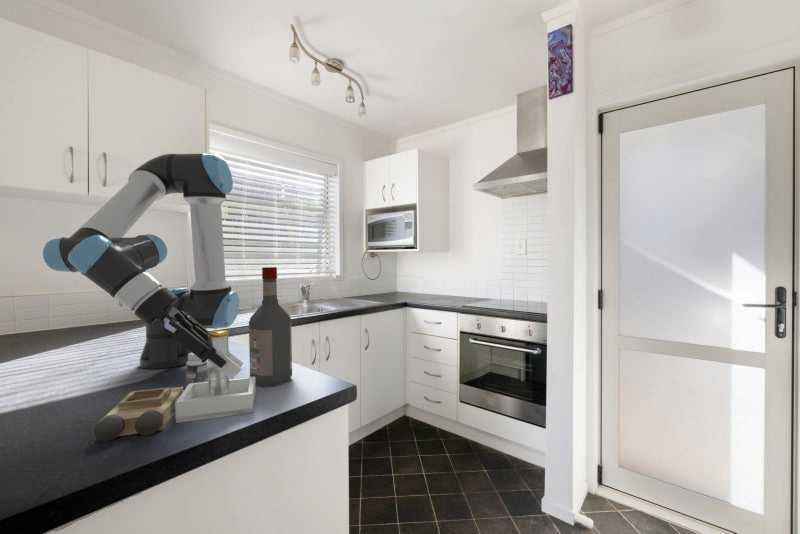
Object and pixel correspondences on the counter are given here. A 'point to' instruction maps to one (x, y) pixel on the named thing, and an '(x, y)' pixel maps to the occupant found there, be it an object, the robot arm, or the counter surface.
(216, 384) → the gold capped bottle
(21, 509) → the counter surface
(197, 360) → the pill bottle
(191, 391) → the tray
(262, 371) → the liquor
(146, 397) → the trolley block
